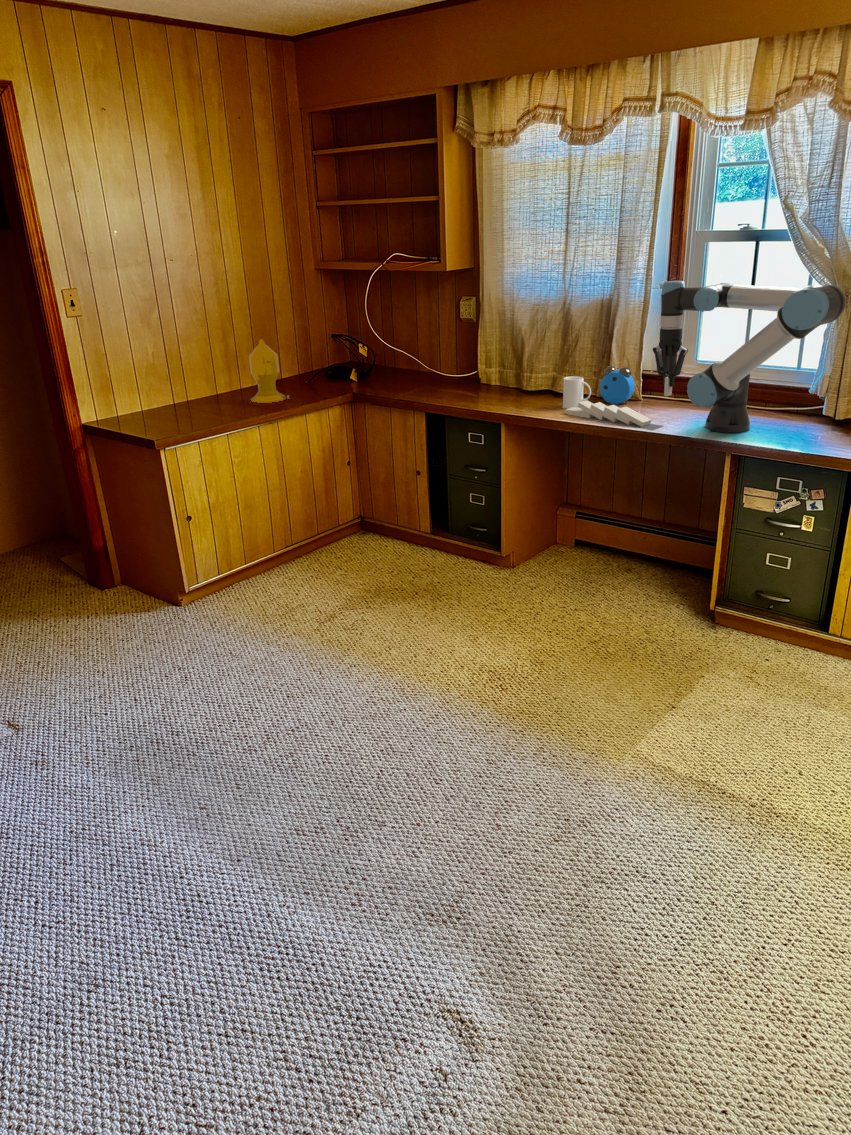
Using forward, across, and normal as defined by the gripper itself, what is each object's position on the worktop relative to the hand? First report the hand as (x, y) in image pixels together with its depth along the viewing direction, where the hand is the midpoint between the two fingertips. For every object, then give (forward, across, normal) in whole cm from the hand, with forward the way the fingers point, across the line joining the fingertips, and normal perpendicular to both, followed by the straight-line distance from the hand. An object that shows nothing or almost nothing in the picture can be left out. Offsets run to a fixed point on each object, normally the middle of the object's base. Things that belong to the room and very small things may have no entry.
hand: (667, 395), depth 301 cm
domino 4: (+10, +13, +2) cm, 17 cm away
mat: (+12, +18, +2) cm, 21 cm away
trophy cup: (+9, +169, +56) cm, 179 cm away
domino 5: (+11, +7, +3) cm, 13 cm away
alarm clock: (+11, +38, -25) cm, 47 cm away
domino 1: (+10, +31, +1) cm, 33 cm away
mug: (+11, +47, -10) cm, 49 cm away
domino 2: (+10, +25, +2) cm, 27 cm away
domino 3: (+10, +19, +2) cm, 22 cm away
